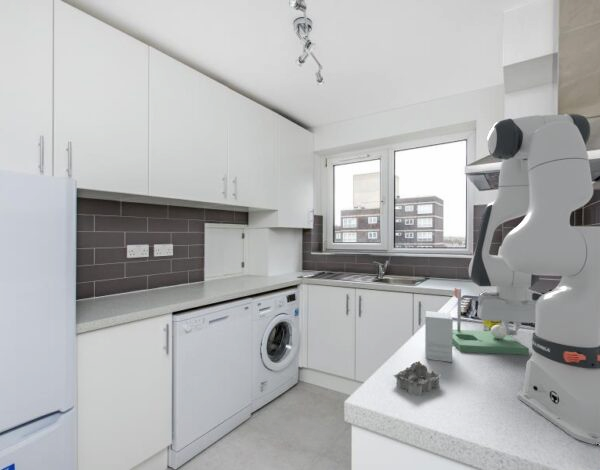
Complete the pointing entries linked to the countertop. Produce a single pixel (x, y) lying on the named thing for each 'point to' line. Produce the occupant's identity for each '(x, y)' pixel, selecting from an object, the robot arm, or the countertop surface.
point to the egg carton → (411, 382)
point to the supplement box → (438, 336)
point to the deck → (483, 339)
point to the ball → (498, 332)
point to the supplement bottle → (489, 324)
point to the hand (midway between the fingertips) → (511, 334)
